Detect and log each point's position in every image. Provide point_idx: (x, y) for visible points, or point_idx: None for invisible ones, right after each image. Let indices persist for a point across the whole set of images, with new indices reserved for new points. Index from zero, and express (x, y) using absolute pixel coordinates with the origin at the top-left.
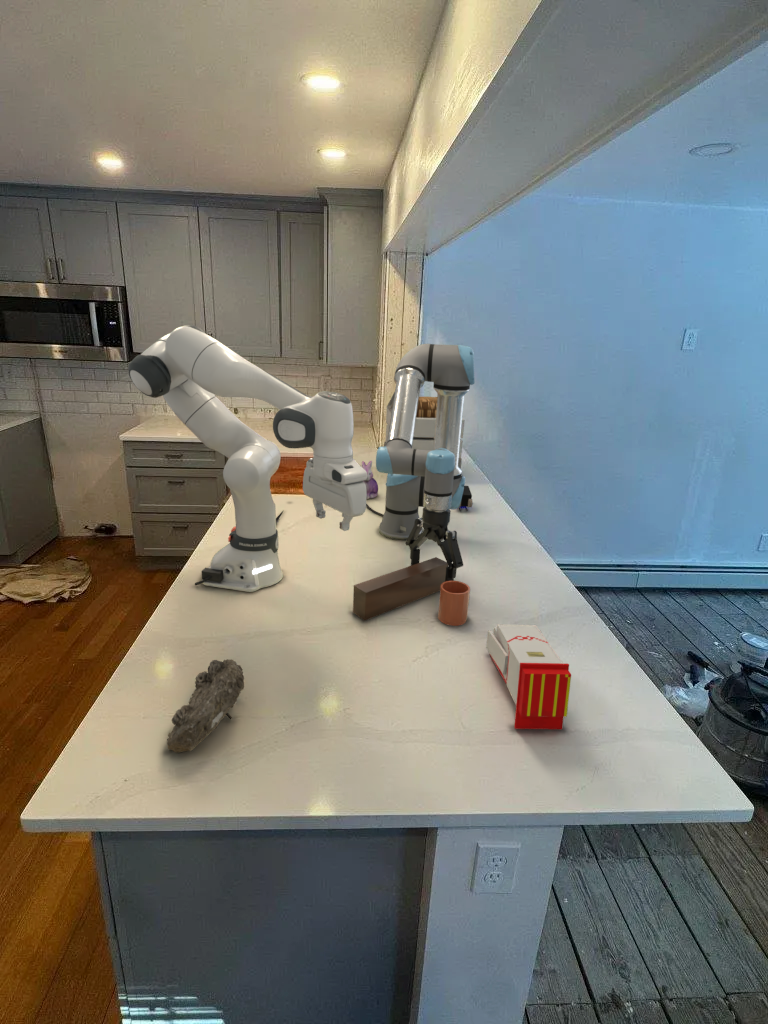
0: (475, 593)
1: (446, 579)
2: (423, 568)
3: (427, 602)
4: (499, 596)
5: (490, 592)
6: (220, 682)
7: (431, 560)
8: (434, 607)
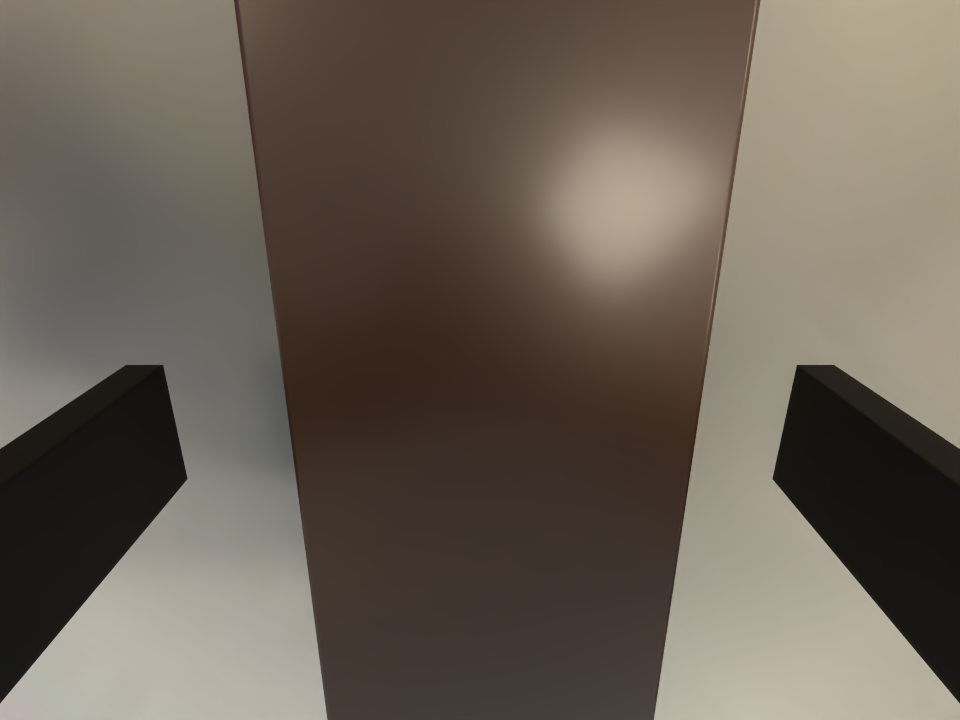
0: (189, 621)
1: (35, 437)
2: (412, 283)
3: None
4: (59, 714)
5: (147, 710)
6: None
7: (598, 663)
8: (127, 100)
